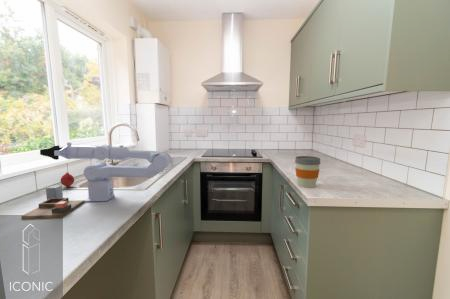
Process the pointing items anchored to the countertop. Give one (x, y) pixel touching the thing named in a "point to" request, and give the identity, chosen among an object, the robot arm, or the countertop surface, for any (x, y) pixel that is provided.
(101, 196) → the robot arm
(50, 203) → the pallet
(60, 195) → the block
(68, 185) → the onion
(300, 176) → the reusable coffee cup
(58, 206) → the button
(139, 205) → the countertop surface
